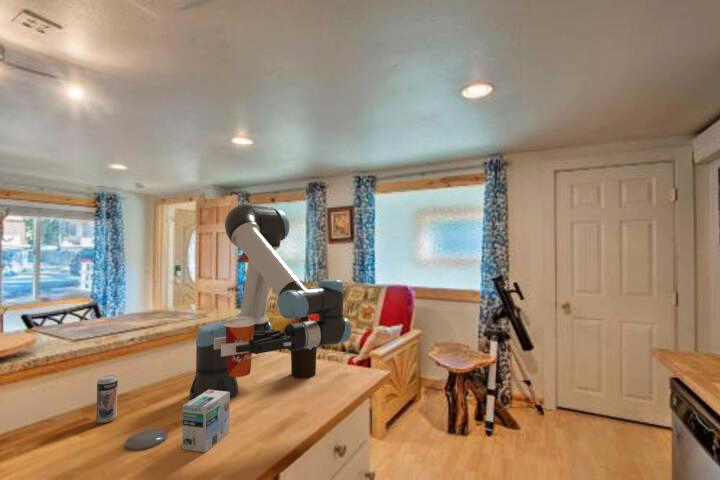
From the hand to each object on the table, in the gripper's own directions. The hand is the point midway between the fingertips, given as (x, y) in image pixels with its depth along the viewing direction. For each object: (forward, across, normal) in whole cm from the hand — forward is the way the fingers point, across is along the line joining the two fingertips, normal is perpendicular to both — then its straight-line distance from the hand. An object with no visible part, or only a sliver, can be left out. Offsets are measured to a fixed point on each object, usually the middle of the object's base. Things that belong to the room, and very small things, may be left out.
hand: (217, 347), depth 91 cm
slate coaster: (+14, +11, -24) cm, 30 cm away
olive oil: (-41, +35, -24) cm, 59 cm away
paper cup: (-6, 0, -8) cm, 9 cm away
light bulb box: (+1, +3, -24) cm, 24 cm away
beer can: (+22, +31, -24) cm, 45 cm away
